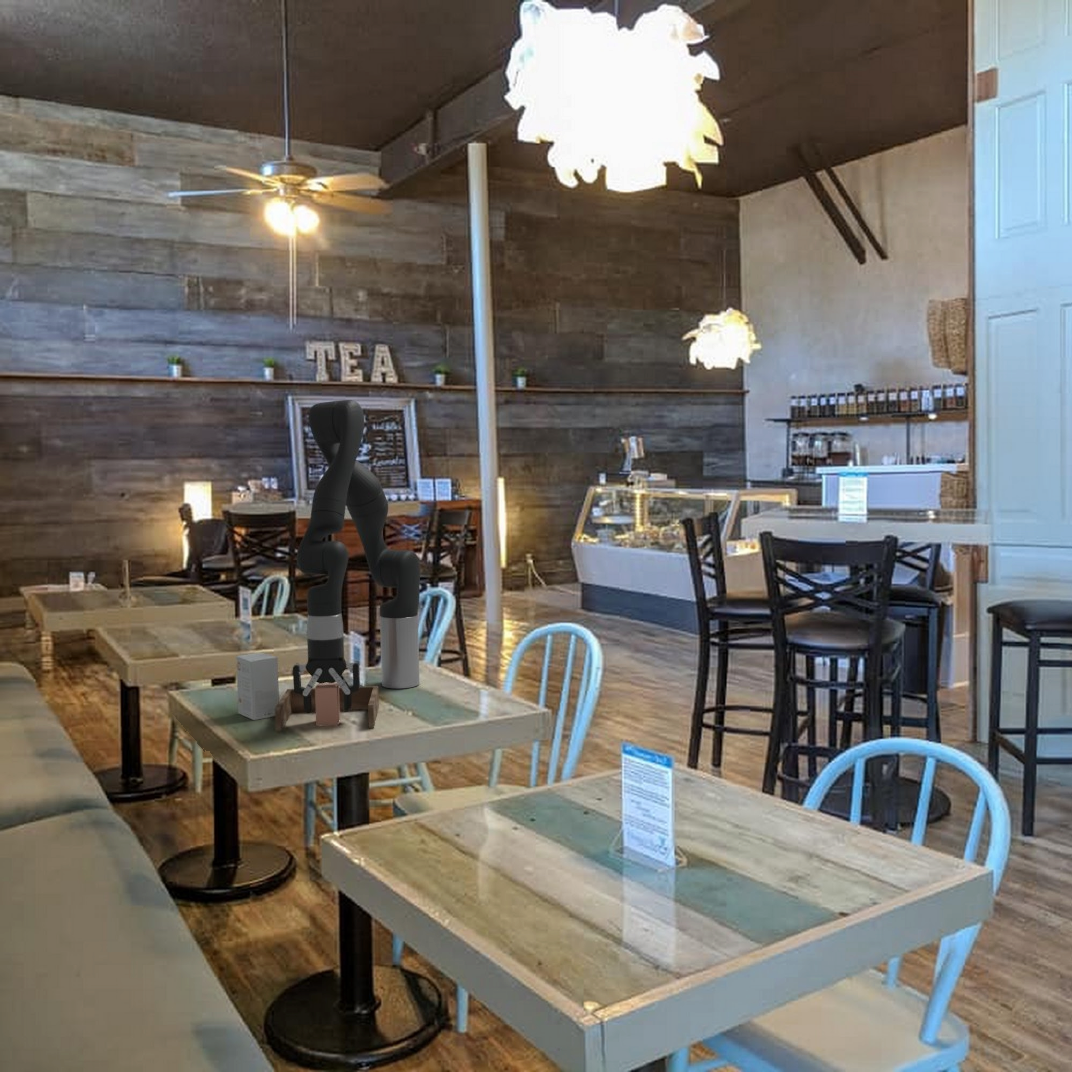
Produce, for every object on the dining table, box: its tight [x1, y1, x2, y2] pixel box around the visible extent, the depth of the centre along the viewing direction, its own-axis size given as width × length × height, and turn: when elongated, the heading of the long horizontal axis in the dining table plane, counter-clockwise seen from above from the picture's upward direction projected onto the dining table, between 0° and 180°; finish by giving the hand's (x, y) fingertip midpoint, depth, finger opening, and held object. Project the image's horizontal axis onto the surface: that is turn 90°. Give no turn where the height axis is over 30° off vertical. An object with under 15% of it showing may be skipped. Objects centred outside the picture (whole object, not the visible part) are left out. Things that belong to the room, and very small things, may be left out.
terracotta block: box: [314, 682, 341, 726], centre depth 220 cm, size 4×4×8 cm
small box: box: [235, 652, 280, 721], centre depth 227 cm, size 8×6×13 cm
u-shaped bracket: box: [274, 685, 380, 733], centre depth 223 cm, size 17×20×5 cm
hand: (327, 711), depth 220 cm, fingers open, 7 cm apart
